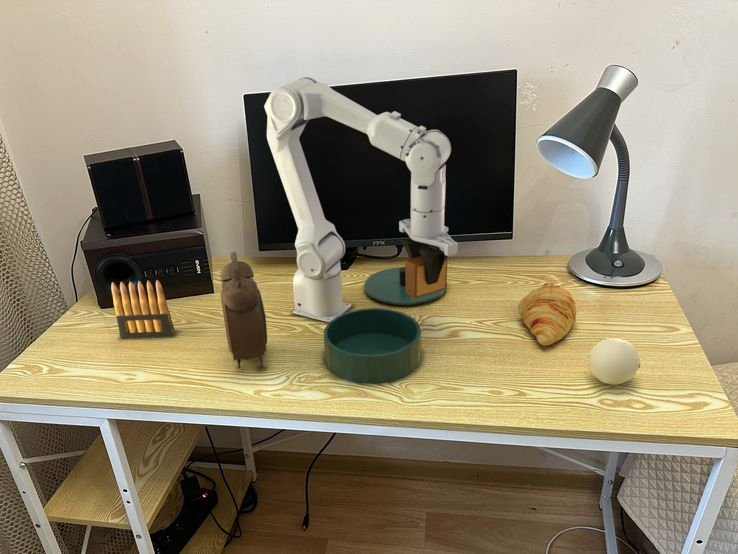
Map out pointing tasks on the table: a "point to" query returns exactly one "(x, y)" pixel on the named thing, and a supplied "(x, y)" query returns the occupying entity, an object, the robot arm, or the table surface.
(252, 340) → the alarm clock
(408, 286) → the tall brown block
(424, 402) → the table surface
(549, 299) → the croissant
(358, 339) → the pot
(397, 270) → the lid
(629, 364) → the cream white ovoid
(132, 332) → the ammunition clip
